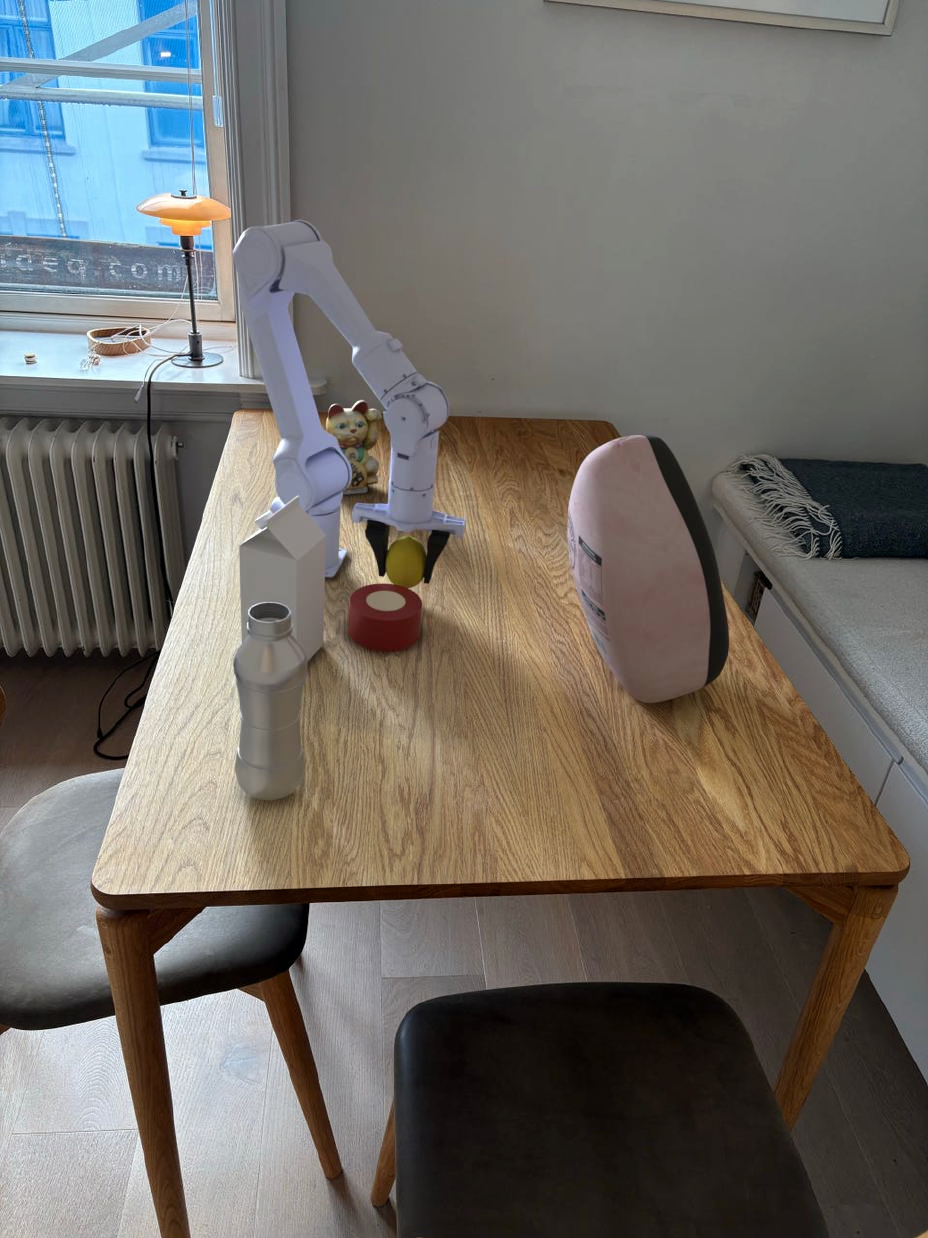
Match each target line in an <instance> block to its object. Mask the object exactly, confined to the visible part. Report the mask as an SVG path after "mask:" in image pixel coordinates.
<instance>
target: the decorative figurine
mask: <svg viewBox="0 0 928 1238" xmlns="http://www.w3.org/2000/svg"><path fill="white" fill-rule="evenodd" d="M382 418H383V416H382V413H381V412H380V411H379V410H378V409H376V408H369V405H368V403H367V401H365V400H364V399H360V400H357V401H356V402H355V403H354V404H353V406H352V407H351V408H348V407H347V408H343V406H342V405H341V404H339V403H333V404H331V405H330V407H329V409H328V413H327V418H326V421H325V427H326V428H325V429H326V431H327V432H328V433H330V434H332V435H333V436H335V437H336V438H337V440H338V444H339V447H340V449H341V451H342V453H343V454H344V455H345V457H346V458H347V459H348V461H349V463H350V465H351V469H352V480H351V483H350V485H349V486H348V487H347V488H346V489H345V490H343V495H354V494H355V495H356V494H364V493H368V490H369V489H368V486H371V485H372V486H373V485H377V484H379V478H378V475H377V474H378V472H379V469H380V464H379V460H378V459H377V458H376V457H374V456H373V455H370V454H369V451H370V450H372V449H373V448H374V447H375V446H376V445H377V443H378V441H379V440H378V439H379V431H378V427H377V426H378V425H377V422H379V421H380V420H382Z"/></svg>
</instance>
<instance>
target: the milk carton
mask: <svg viewBox="0 0 928 1238" xmlns="http://www.w3.org/2000/svg"><path fill="white" fill-rule="evenodd" d="M254 524H255V525H256V526H257V527H258V529H259V530H257V531H256V532H254V533H253V534H252V535H251V536H249V537H248V538H247V539H245V540H244V541H243V542H242V543H240V544H239V545H238V546H239V548H238V549H239V551H238V553H239V554H238V556H239V558H238V559H239V591H240V592H239V594H240V595H239V596H240V597H239V599H240V631H241V633H240V637H241V644H242V643H243V641H244V640H245V639H246V638H247V637H248V636H249V633H248V631H247V623H248V610H249V609H250V607H252V606H253V605H255V604H258V603H263V602H276V603H281V604H283V605H286V606H287V607H288V608H289V609H290V611H291V622H292V629H293V630H292V633H291V635H292V636H293V637H294V638H295V639H296V640H297V641H298V643H299V644H300V645H301V646H302V648H303V649H304V651H305V654H306V657H307V662H309V661H311V659H312V657H313V656H314V655H315V654H316V653H317V652H318V651H319V650H321V648H322V647H323V645H324V625H325V624H324V623H325V589H326V588H325V587H326V585H325V583H326V582H325V581H326V577H325V551H326V534H325V533H324V532H323V531H322V530H321V528H320V527H319V526H318V525H317V524H316V523H315V522H314V521H313V519H312V518H311V517H310V516H309V515H308V514H307V513H306V512H305V510H304V509H303V508H302V507H301V506H300V505H299V496H296V497H295V498H293V499H292V500H291V501H289V502H288V503H287V504H285V505H284V506H283V507H282V508H280V509H279V510H278V511H276V512H275V513H274V514H273V513H272V512H271V511H270V510H269V511H267V512H264V514H262V515H260V516H258V517H257V518H256V519H255V520H254Z"/></svg>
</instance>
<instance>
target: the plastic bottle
mask: <svg viewBox="0 0 928 1238" xmlns="http://www.w3.org/2000/svg"><path fill="white" fill-rule="evenodd" d="M292 630H293V629H292V622H291V611H290V609H289V608H288V607H287V606H286V605H283V604H281V603H276V602H263V603H258V604H255V605H253V606H252V607H250V609H249V610H248V623H247V631H248V633H249V636H248V637H247V638H246V639H245V640H244V641H243V643H242V642H241V644H240V645H239V647H238V648H237V649H236V652H235V655H234V658H233V660H232V661H233V662H232V663H233V664H232V666H233V674H234V679H235V685H236V689H237V695H238V700H239V711H240V733H239V743H238V747H237V751H236V755H235V763H234V772H235V776H236V780H237V783H238V785H239V787H240V788H241V789H242V790H243V791H244V792H245V793H246V794H247V795H248V796H250V797H251V798H254V799H257V800H261V801H275V800H281V799H283V798H286V797H288V796H290V795H291V794H293V793H294V792H295V791H296V790H297V789H298V788H299V787H300V786H301V785H302V784H301V783H302V782H303V780H304V774H305V771H306V758H305V752H304V747H303V745H302V733H301V709H302V699H303V697H302V696H303V692H304V687H305V683H306V682H305V681H306V677H307V672H308V662H309V661H308V662H307V657H306V654H305V651H304V649H303V648H302V646H301V645H300V644H299V643H298V641H297V640H296V639H295V638H294V637H293V636H292V635H291V633H292Z"/></svg>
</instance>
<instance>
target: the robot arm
mask: <svg viewBox="0 0 928 1238" xmlns="http://www.w3.org/2000/svg"><path fill="white" fill-rule="evenodd" d="M231 256H232V259H233V262H234V266H235V269H236V272H237V275H238V281H239V282H238V283H239V284H238V285H239V286H238V288H239V290H238V291H239V292H238V293H239V297H238V298H239V303H240V304H239V305H240V308H241V311H242V314H243V318H244V321H245V324H246V329H247V331H248V334H249V337H250V340H251V344H252V347H253V350H254V354H255V356H256V360H257V363H258V367H259V370H260V373H261V376H262V380H263V383H264V386H265V390H266V392H267V396H268V399H269V403H270V405H271V409H272V412H273V415H274V419H275V423H276V426H277V429H278V432H279V435H280V438H281V440H280V443H279V444H278V447H277V449H276V452H275V453H274V455H273V458H272V464H273V466H274V470H275V478H274V479H275V480H274V486H275V491H276V494H277V497H275V498H274V499H273V501H272V503H271V505H270V508H269V511H271V512H272V513H273V514H274V513H275V512H276V511H278V510H279V509H280V508H282V507H283V506H284V505H285V504H287V503H288V502H289V501H291V500H292V499H293V498H295V497H296V496H299V505H300V506H301V507H302V508H303V509H304V510H305V512H306V513H307V514H308V515H309V516H310V517H311V518H312V519H313V521H314V522H315V523H316V524H317V525H318V526H319V527H320V528H321V530H322V531H323V532H324V533H325V534H326V551H325V578H330V579H331V578H332V579H333V578H334V577H335V576H336V574H337V573H338V571H339V569H340V567H341V565H342V564H343V562H344V560H345V558H346V557H347V554H348V550H347V549H343V548H340V537H341V536H340V535H341V534H340V532H341V507H342V506H341V505H342V504H341V503H342V500H343V495H344V494H343V490H345V489H346V488H347V487H348V486H349V485H350V483H351V480H352V469H351V465H350V463H349V461H348V459H347V458H346V457H345V455H344V454H343V453H342V451H341V449H340V447H339V444H338V440H337V438H336V437H335V436H333V435H332V434H330V433H328V432H327V430H325V429H324V428H323V426H322V423H321V418H320V416H319V413H318V409H317V405H316V402H315V399H314V395H313V392H312V388H311V384H310V381H309V377H308V373H307V371H306V367H305V365H304V361H303V357H302V353H301V350H300V347H299V344H298V340H297V336H296V333H295V330H294V326H293V323H292V319H291V316H290V313H289V309H288V308H289V304H290V303H291V301H292V299H293V297H294V295H295V293H297V294H300V295H301V294H302V295H305V296H307V297H308V296H309V297H310V298H311V299H312V300H313V302H314V303H315V304H316V306H318V307H319V309H320V310H321V311H322V313H323V314H324V315H325V316H326V317H327V319H329V321H330V322H331V324H332V325H333V326H334V327H335V328H336V329H337V331H339V333H340V334H341V336H343V338H344V339H345V340H346V341H347V342H348V343H349V345H350V346H351V348H352V355H351V364H352V365H353V367H354V368H355V369H356V370H357V372H358V373H359V375H360V376H361V378H362V379H363V380H364V382H365V383H366V384H367V385H368V387H369V388H370V389H371V391H372V392H373V394H374V395H375V396H376V398H377V399H378V401H379V402H380V404H381V405H382V406H383V407H384V409H385V411H383V416H382V417H383V421H384V425H385V427H386V429H387V430H388V432H389V435H390V447H391V449H390V461H389V462H390V463H389V478H388V479H389V481H388V496H387V503H363V502H355V504H354V505H353V507H352V515H351V522H352V523H356V524H357V523H358V524H361V522H365V523H366V527H365V530H364V536H365V538H366V540H367V542H368V543H369V546H370V548H371V549H372V552H373V554H374V555H373V556H374V558H375V561H376V565H377V569H378V571H377V572H378V577H382V578H384V577H385V575H386V569H385V560H386V555H387V552H388V549H389V541H390V540H389V538H390V532H391V527H395V530H396V531H399V532H405V533H411V532H412V531H413V530H415V531H417V530H418V531H424V532H429V533H430V534H429V536H428V538H427V541H426V555H427V562H426V569H425V575H424V578H423V584H427V585H429V584H431V580H432V577H433V571H434V568H435V565H436V563H437V561H438V560H439V558H440V556H441V555H442V553H443V551H444V550H445V549H446V547H447V545H448V542H449V541H450V537H451V536H454V538H456V539H464V536H465V534H466V526H467V519H466V518H461V517H458V516H454V515H450V514H447V513H444V512H441V511H438V510H434V509H433V508H434V507H433V506H434V497H435V496H434V495H435V484H436V473H437V462H438V452H439V439H440V429H439V428H440V427H442V426H443V425H444V424H445V423H446V422H447V420H448V418H449V416H450V403H449V399H448V397H447V396H446V394H445V392H444V389H443V387H441V386H440V385H438V384H437V383H435V382H432V381H429V380H427V379H426V378H425V377H424V376H423V374H420V373H419V372H418V371H417V369H416V367H415V366H414V365H413V363H412V362H411V361H410V360H409V358H408V357H407V355H406V354H405V352H404V351H403V350H402V349H403V348H404V346H403V344H402V343H401V342H400V340H399V339H398V338H394V337H393V336H392V334H391V333H388V332H382V331H380V330H377V329H375V327H374V326H373V323H371V321H370V319H369V317H368V316H367V315H366V313H365V311H364V309H363V308H362V306H361V305H360V302H358V300H357V298H356V297H355V295H354V294H353V292H352V290H351V289H350V288H349V285H348V284H347V282H346V281H345V280H344V278H343V276H342V275H341V273H340V272H339V269H337V267H336V265H335V263H334V258H333V252H332V247H331V246H330V245H329V244H328V243H327V241H325V240H324V239H323V238H322V235H321V233H320V231H319V230H318V229H317V227H316V226H315V225H313V224H312V223H311V222H309V221H307V220H304V219H296V220H292V221H291V222H284V223H278V224H272V225H265V226H259V225H257V226H256V225H255V226H250V227H248V228H247V229H245V230H244V231H243V232H242V234H241V235H240V237H239V239H238V241H237V243H236V245H235V247H234V249H233V251H232V252H231Z"/></svg>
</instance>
